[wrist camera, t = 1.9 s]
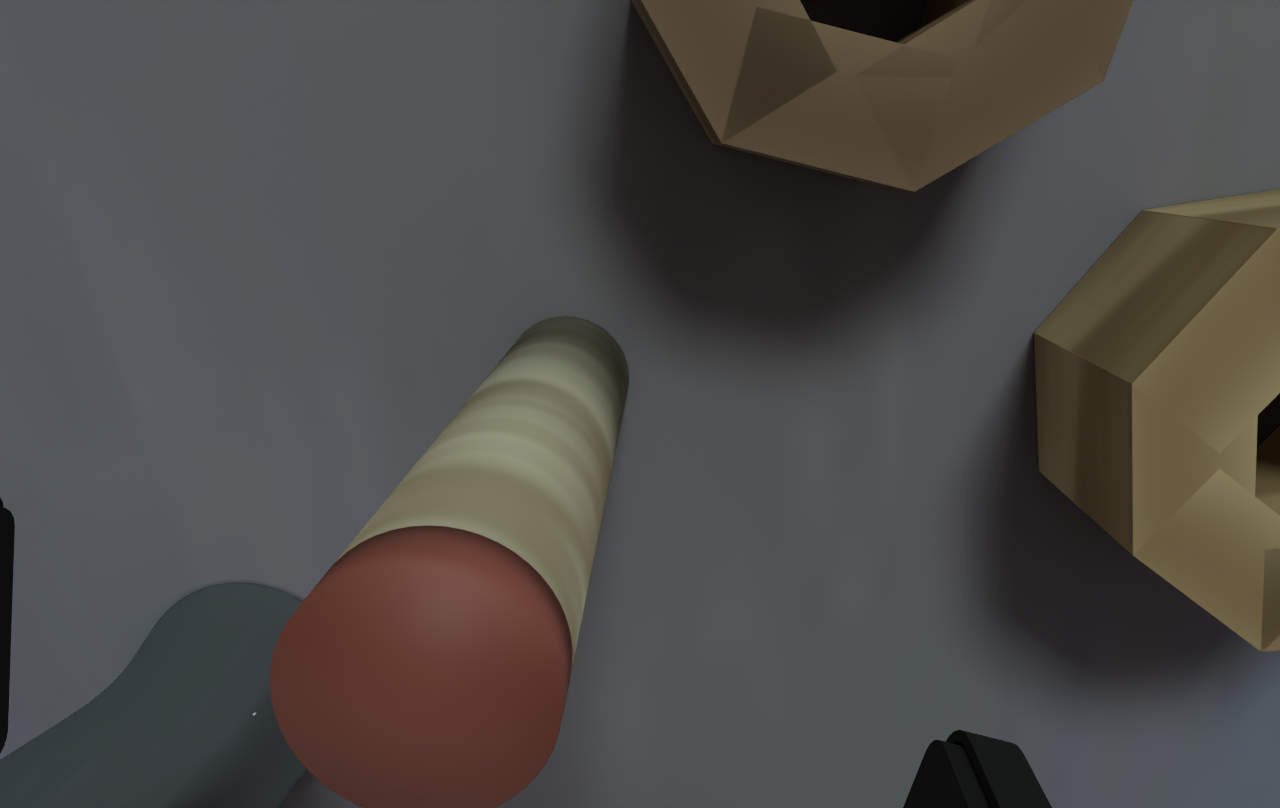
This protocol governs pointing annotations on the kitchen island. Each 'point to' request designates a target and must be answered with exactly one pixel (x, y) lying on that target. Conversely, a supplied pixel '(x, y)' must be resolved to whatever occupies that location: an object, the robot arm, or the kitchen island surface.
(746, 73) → the walnut bead
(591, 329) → the cream and red cylinder
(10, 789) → the beer glass
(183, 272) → the kitchen island surface
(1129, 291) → the oak bead
